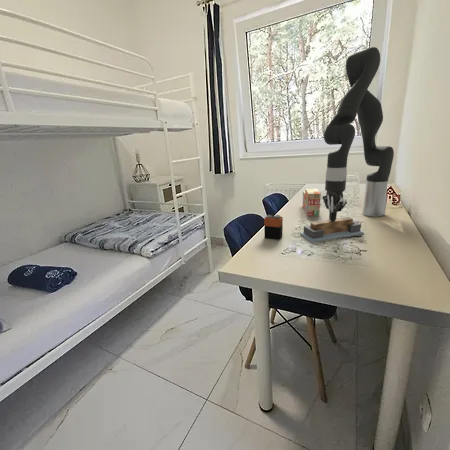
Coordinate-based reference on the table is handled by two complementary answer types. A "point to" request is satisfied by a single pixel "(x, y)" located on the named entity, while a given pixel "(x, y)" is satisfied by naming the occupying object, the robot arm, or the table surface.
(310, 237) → the cap board
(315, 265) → the table surface
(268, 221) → the battery
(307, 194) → the stack of blocks
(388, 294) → the table surface
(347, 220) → the slat
